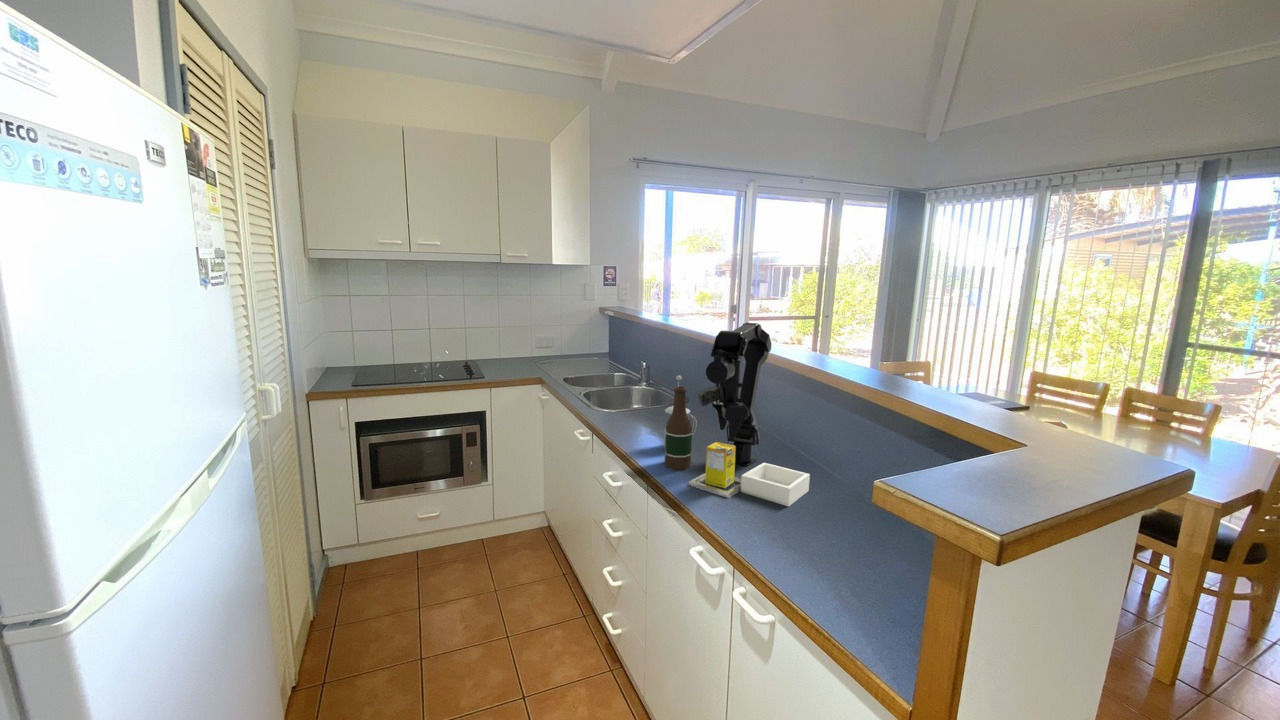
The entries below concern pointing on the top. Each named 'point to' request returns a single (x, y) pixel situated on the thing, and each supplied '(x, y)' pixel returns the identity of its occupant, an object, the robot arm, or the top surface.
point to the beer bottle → (678, 434)
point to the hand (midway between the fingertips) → (726, 434)
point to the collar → (715, 490)
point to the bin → (775, 483)
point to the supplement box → (720, 465)
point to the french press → (670, 410)
